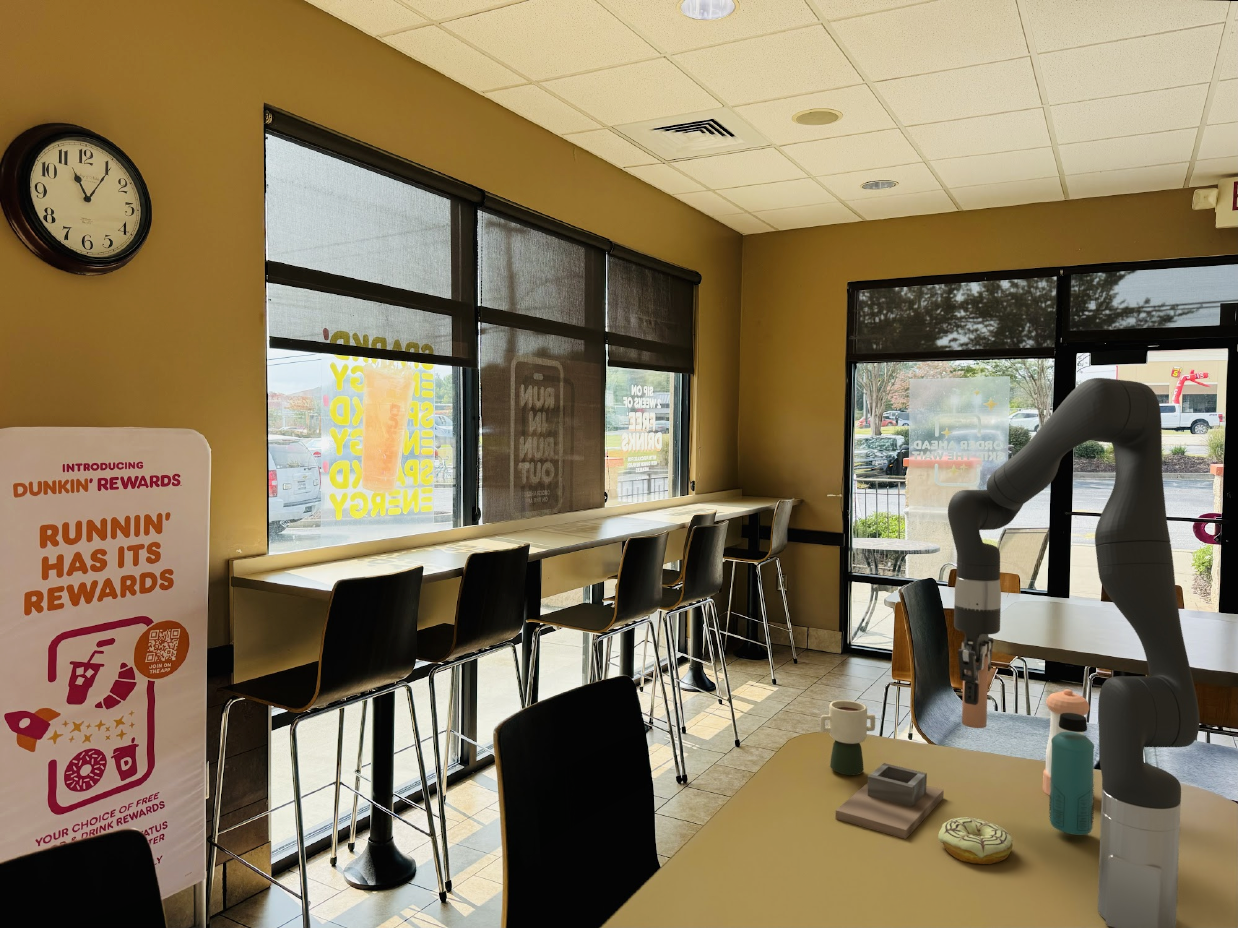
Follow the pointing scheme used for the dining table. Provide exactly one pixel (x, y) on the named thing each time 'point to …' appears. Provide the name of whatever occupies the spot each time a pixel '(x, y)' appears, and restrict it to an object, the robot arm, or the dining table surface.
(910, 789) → the holder
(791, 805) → the dining table surface
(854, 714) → the character mug
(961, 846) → the decorated donut
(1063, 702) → the pepper shaker
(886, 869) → the dining table surface
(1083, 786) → the beverage bottle
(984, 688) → the peg
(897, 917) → the dining table surface
